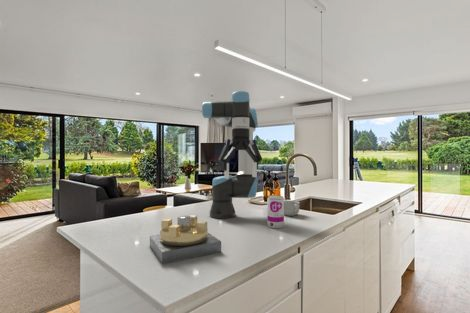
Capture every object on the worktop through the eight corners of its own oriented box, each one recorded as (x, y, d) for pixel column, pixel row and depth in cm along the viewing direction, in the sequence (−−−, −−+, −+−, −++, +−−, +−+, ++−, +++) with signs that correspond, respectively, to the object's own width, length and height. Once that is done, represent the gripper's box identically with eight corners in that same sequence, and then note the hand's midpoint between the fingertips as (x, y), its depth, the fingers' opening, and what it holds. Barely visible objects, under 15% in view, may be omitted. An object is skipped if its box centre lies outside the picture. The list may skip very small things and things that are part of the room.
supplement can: (283, 228, 131) (283, 198, 130) (266, 228, 132) (266, 197, 132) (284, 224, 138) (284, 195, 138) (268, 223, 140) (267, 194, 140)
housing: (149, 245, 108) (149, 235, 108) (201, 237, 118) (201, 227, 118) (161, 263, 90) (161, 251, 90) (221, 251, 101) (221, 240, 101)
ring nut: (155, 235, 108) (155, 215, 108) (197, 228, 116) (197, 210, 116) (167, 249, 92) (166, 225, 92) (215, 240, 101) (215, 219, 101)
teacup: (279, 213, 165) (279, 200, 165) (296, 212, 166) (296, 199, 165) (285, 218, 151) (285, 204, 151) (304, 218, 152) (304, 203, 152)
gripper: (217, 126, 107) (217, 179, 107) (269, 128, 118) (270, 177, 119) (210, 128, 113) (210, 178, 114) (260, 129, 125) (260, 175, 125)
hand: (240, 177), depth 116 cm, fingers open, 13 cm apart
